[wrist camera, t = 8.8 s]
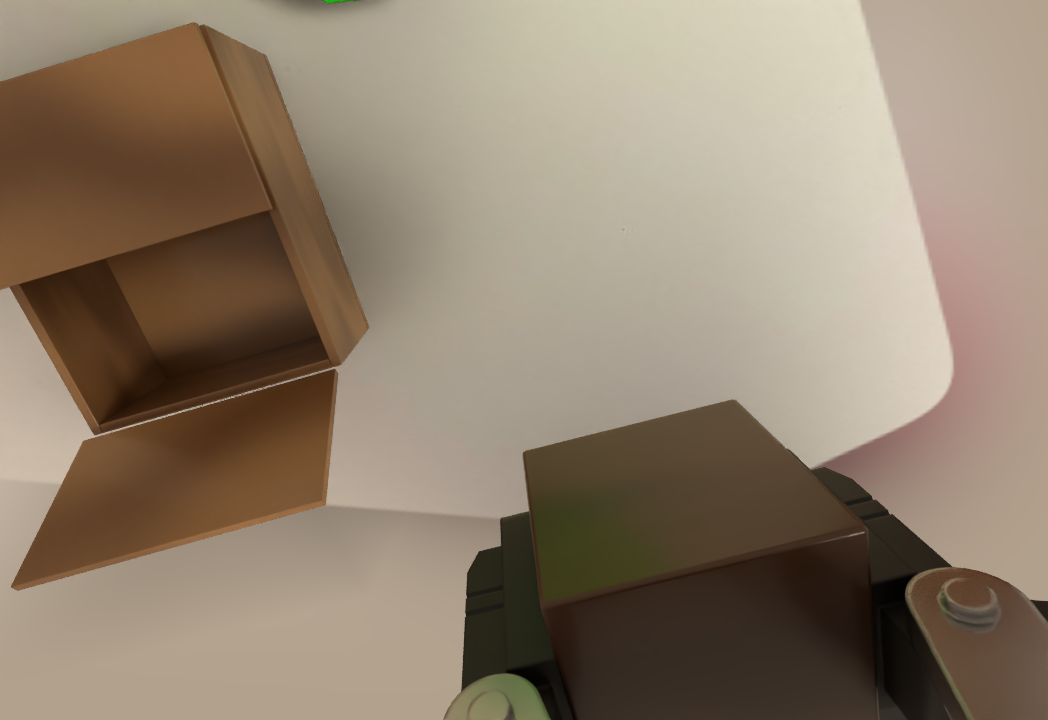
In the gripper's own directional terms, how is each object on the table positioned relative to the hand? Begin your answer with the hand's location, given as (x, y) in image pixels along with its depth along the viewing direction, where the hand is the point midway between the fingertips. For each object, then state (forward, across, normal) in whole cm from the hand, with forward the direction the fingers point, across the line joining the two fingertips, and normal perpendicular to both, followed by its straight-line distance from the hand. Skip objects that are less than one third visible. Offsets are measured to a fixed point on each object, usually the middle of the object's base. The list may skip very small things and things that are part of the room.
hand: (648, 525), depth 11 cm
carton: (+20, +15, -7) cm, 26 cm away
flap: (+10, +14, +1) cm, 18 cm away
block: (0, 0, 0) cm, 0 cm away
